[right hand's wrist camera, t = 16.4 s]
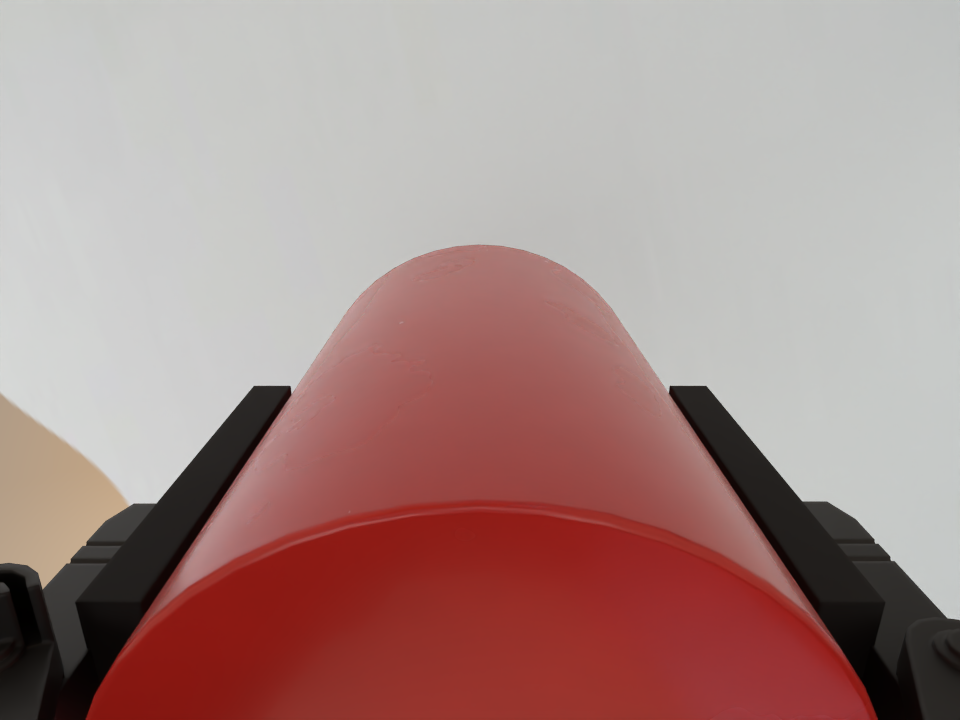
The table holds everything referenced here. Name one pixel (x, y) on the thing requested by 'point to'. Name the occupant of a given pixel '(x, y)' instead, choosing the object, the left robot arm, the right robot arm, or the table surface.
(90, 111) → the table surface
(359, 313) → the tin
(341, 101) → the table surface
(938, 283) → the table surface
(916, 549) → the table surface
